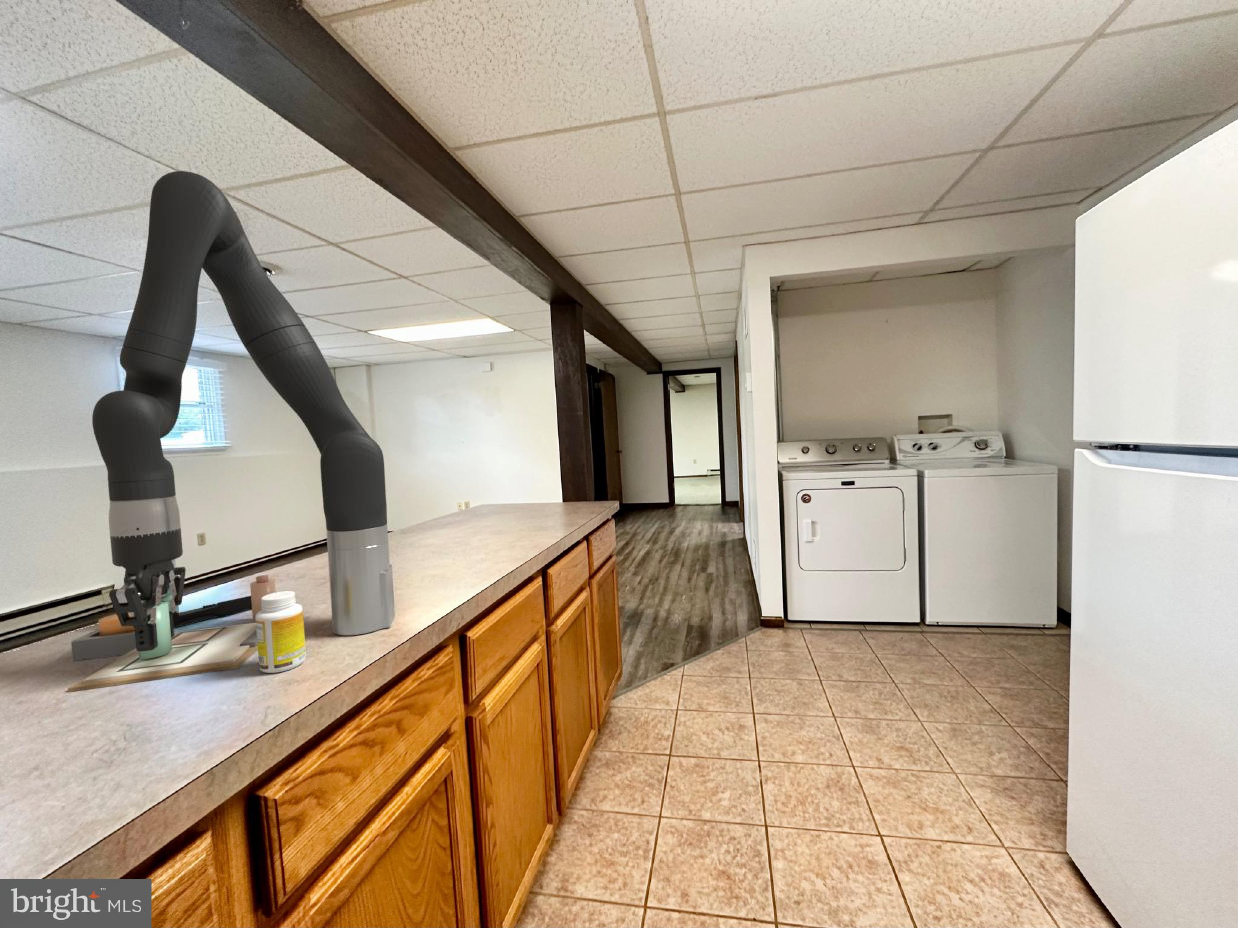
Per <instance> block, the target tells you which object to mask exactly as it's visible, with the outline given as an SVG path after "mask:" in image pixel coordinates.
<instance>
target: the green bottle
mask: <svg viewBox="0 0 1238 928" xmlns="http://www.w3.org/2000/svg"><path fill="white" fill-rule="evenodd" d="M150 601H151V600H144V601H143V603H148V602H150ZM144 610H145V612H146V615H147V609H146V608H144ZM155 623H156V628H157V640H158V646H157V647H156V648H155V649H153V650H149V651H142V652H139V651H138V653H139V658H140V659H148V658H154V657H158V656H161V655H164V654H167V653H169V652H171V651H172V643H171V631H170V619H169V607H168V602H161V604H160V606H158V607H157V608H156V621H155Z"/></svg>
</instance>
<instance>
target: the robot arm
mask: <svg viewBox="0 0 1238 928" xmlns="http://www.w3.org/2000/svg"><path fill="white" fill-rule="evenodd" d="M149 203H150V204H149V215H148V216H149V218H148V219H149V221H148V235H147V243H146V250H145V256H144V257H145V258H144V264H143V269H142V273H141V280H140V284H139V289H138V293H137V296H136V297H137V298H136V301H135V305H134V308H133V310H132V311H133V312H132V315H131V318H130V321H129V324H128V327H127V329H126V330H127V331H126V334H125V337H124V340H123V344H122V347H121V350H120V354H119V365H120V366H121V368H122V369H123V371H125V380H124V385H123V390H122V389H121V390H115V391H111V392H109V393H106V394H104V395H103V396H101V398H99V399H98V401H96V403H95V404H94V408H93V410H92V411H93V412H92V416H91V417H92V423H91V424H92V429H93V434H94V437H95V441H96V444H97V446H98V449H99V452H100V456H101V459H102V460H103V462H104V464H105V467H106V470H107V483H108V484H107V485H108V486H107V487H108V498H109V509H108V527H109V528H108V529H109V539H110V550H111V560H112V564H113V566H115V567H121V568H124V570H125V572H124V577H123V585H122V586H121V587H120V588H114V589H111V590H109V594H108V596H109V600H110V601H111V604H112V607H113V609H114V611H115V614H117V616H118V619H119V621H120V624H121V626H131V627H134V629H135V641H136V650H137V651H139V652H142V651H149V650H153V649H155V648H156V647H157V646H158V640H157V628H156V623H155V621H156V608H157V607H158V606H160V604H161V602H168V607H169V619H170V631H171V638H172V637H173V636H174V632H175V628H174V625H173V614H172V613H174V612H175V610H176V606H177V605H179V606H181V605H182V603H183V597H184V596H183V595H184V588H185V579H186V571H187V569H186V567H185V566H180V567H179V566H178V567H177V566H176V567H174V565H173V562H172V560H174V559H175V560H177V559H178V558H181V556H182V555H183V553H184V551H183V541H182V540H183V539H182V526H181V515H180V514H181V513H180V509H179V504H178V502H177V496H176V482H175V473H174V468H173V465H172V463H171V461H170V460H168V459H167V458H166V457H165V456H164V453H163V452H164V451H163V446H162V440H161V439H162V438H164V437H166V436H168V434H170V433H171V432H172V431H173V429H174V427H175V426H176V423H177V421H178V418H179V414H180V411H181V410H180V409H181V401H182V400H181V399H182V391H183V390H182V388H183V382H182V381H183V374H184V372H185V369H186V366H187V363H188V361H189V360H188V359H189V357H190V354H191V350H192V346H193V342H194V338H195V334H196V328H197V321H198V320H197V317H198V300H199V299H198V296H199V285H200V278H201V274H202V270H203V271H204V273H206V275H207V276H208V277H209V279H210V280H211V281H212V283H213V285H214V286H215V288H216V289H217V292H218V293H219V295H220V297H221V299H222V302H223V304H224V306H225V309H226V311H227V314H228V317H229V318H230V321H231V324H232V326H233V327H234V331H236V333H237V336H238V338H239V339H240V342H241V343H242V345H243V347H244V348H245V350H246V351H247V352H248V354H249V356H250V358H251V359H252V361H253V362H254V364H255V365H256V367H257V368H258V369H259V371H260V373H261V374H262V376H263V377H264V378H265V379H266V381H268V383H269V385H270V386H271V387H272V388H273V389H274V390H275V391H276V393H277V394H278V395H279V397H281V399H282V400H283V401H284V402H285V404H286V403H287V405H288V406H289V407H290V408H291V410H292V411H293V412H294V413H295V414H296V416H298V418H299V419H300V420H301V422H302V423H303V424H304V426H305V427H306V429H307V430H308V432H309V435H310V436H311V438H312V440H313V442H314V444H315V445H316V447H317V450H318V452H319V454H320V460H319V461H320V462H319V464H320V465H319V467H320V478H321V481H320V482H321V483H320V484H321V492H322V493H321V494H322V504H323V505H322V506H323V514H324V518H325V519H324V520H325V528H326V541H327V542H326V545H327V558H328V559H327V561H328V574H329V577H328V578H329V591H330V605H331V606H330V607H331V622H332V623H331V624H332V631H333V632H332V633H334V634H335V635H338V636H339V635H340V636H355V635H361V634H362V635H363V634H368V633H371V632H376V631H379V630H381V629H387V628H390V627H391V626H392V623H393V621H394V619H395V616H396V611H395V610H396V609H395V594H394V592H395V591H394V579H393V565H392V564H391V563H390V548H389V546H390V545H389V530H388V511H387V509H388V507H387V491H386V490H387V489H386V473H385V472H386V471H385V460H384V459H385V457H384V454H383V450H382V449H381V447H380V445H379V444H378V442H376V441H375V440H374V439H373V438H372V437H371V435H370V434H369V433H368V432H367V431H366V429H365V428H364V427H363V426H362V424H361V423H360V421H358V419H357V418H356V416H355V415H354V413H353V412H352V411H351V409H350V408H349V406H348V404H347V403H346V401H345V400H344V398H343V397H344V396H342V393H341V390H340V389H339V387H338V385H337V382H336V380H335V377H334V375H333V373H332V370H331V369H330V367H329V364H328V362H327V361H326V358H325V357H324V354H323V353H322V351H321V349H320V348H319V346H318V344H317V342H316V341H315V338H313V336H312V334H311V332H310V331H309V329H308V328H307V327H306V325H305V323H304V322H303V320H302V319H301V317H300V316H299V315H298V313H297V312H296V310H295V309H294V307H293V306H292V305H291V304H290V302H289V301H288V300H287V298H286V297H285V296H284V295H283V293H282V292H281V291H280V290H279V289H278V288H277V286H276V285H275V284H274V283H273V282H272V280H271V279H270V277H269V276H268V274H267V273H266V272H265V270H264V268H263V266H262V265H261V263H260V261H259V258H258V257H257V255H256V253H255V251H254V249H253V247H252V245H251V243H250V240H249V238H248V236H247V234H246V232H245V229H244V227H243V224H242V223H241V220H240V218H239V216H238V213H237V212H236V211H235V209H234V208H233V206H232V204H231V202H230V200H229V199H228V198H227V196H226V195H225V194H224V193H223V191H222V190H221V189H220V188H219V187H218V185H216V184H215V183H214V182H213V181H211V180H210V179H208V178H206V177H205V176H203V175H201V174H199V173H196V172H193V171H187V170H176V171H171V172H168V173H166V174H164V175H161V177H159V178H158V179H157V181H156V182H155V183H154V186H153V187H152V190H151V196H150V202H149ZM174 597H175V598H174ZM144 600H151V601H150V602H148V603H142V602H141V601H144ZM144 608H146V609H147V615H146V612H145V610H144ZM129 612H130V617H129V614H128V613H129Z"/></svg>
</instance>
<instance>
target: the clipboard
mask: <svg viewBox="0 0 1238 928" xmlns="http://www.w3.org/2000/svg"><path fill="white" fill-rule="evenodd" d="M171 643H172V651H171V652H169V653H167V654H164V655H161V656H158V657H154V658H148V659H140V658H139V653H138V651H137V650H136V649H134V650H132V651H129V652H127V653H125V654H124V655H119V657H117V658H115V659H114V660H113V661H110V662H109V663H107V664H106V665H104V666H102V667H100V668H99V669H98V670H96V671H93V672H92V673H91V674H88V675H87V676H86V677H84V678H83V679H81V680H79V681H78V682H76V683H74V684H72V685H71V686H69V687H68V688H67V692H68V693H70V692H71V693H72V692H78V691H85V690H86V691H87V690H92V689H99V688H106V687H113V686H114V685H115V686H119V685H120V686H121V685H130V684H135V683H142V682H150V681H155V680H163V679H170V678H171V679H172V678H176V677H185V676H190V675H197V674H206V673H213V672H219V671H226V670H233V669H239V668H240V667H241V666H243V665H244V664H245V662H246V661H247V660H249V658H251V656H253V655H254V653H256V651H257V652H258V645H257V632H256V623H253V622H252V623H250V622H249V623H243V624H234V625H226V626H219V627H209V628H201V629H200V628H199V629H192V630H184V631H174V636H173V637H172V638H171Z"/></svg>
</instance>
